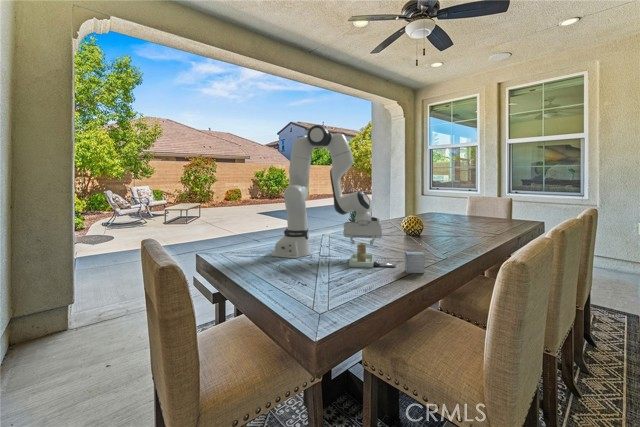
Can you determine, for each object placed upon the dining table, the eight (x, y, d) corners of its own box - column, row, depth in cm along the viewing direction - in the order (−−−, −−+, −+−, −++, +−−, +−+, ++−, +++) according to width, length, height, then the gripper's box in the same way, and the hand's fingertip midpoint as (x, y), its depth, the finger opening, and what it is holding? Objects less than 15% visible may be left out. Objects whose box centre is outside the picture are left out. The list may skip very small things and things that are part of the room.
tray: (349, 267, 145) (349, 261, 145) (351, 258, 160) (351, 253, 160) (372, 267, 143) (372, 262, 143) (373, 258, 158) (373, 254, 158)
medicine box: (422, 270, 138) (422, 251, 137) (424, 273, 134) (425, 254, 133) (404, 270, 139) (404, 251, 138) (406, 273, 135) (406, 254, 133)
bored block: (357, 262, 150) (357, 244, 149) (357, 260, 154) (357, 242, 153) (365, 262, 149) (365, 244, 148) (365, 260, 153) (365, 242, 152)
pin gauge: (373, 266, 145) (373, 262, 144) (373, 265, 147) (373, 261, 146) (395, 267, 143) (395, 263, 142) (395, 266, 145) (395, 261, 144)
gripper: (343, 218, 164) (341, 240, 156) (382, 218, 160) (382, 241, 152) (344, 225, 169) (342, 246, 161) (382, 225, 165) (382, 247, 157)
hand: (362, 243), depth 156 cm, fingers open, 8 cm apart
